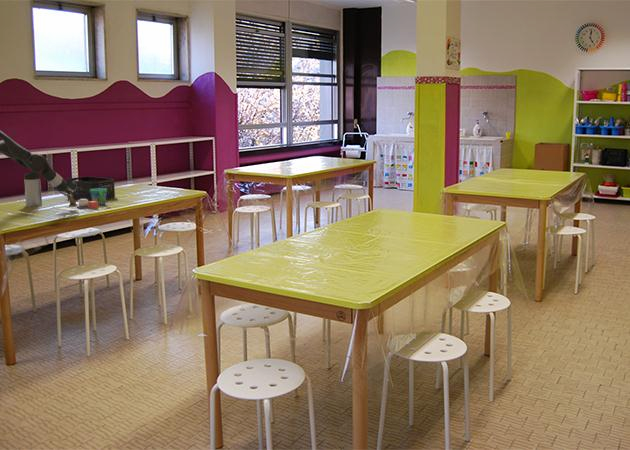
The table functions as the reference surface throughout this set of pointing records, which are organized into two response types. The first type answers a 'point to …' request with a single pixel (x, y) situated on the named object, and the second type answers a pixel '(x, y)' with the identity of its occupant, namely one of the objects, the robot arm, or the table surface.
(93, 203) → the board
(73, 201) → the pawn
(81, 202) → the dome
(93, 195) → the snack cup
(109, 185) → the storage bin
